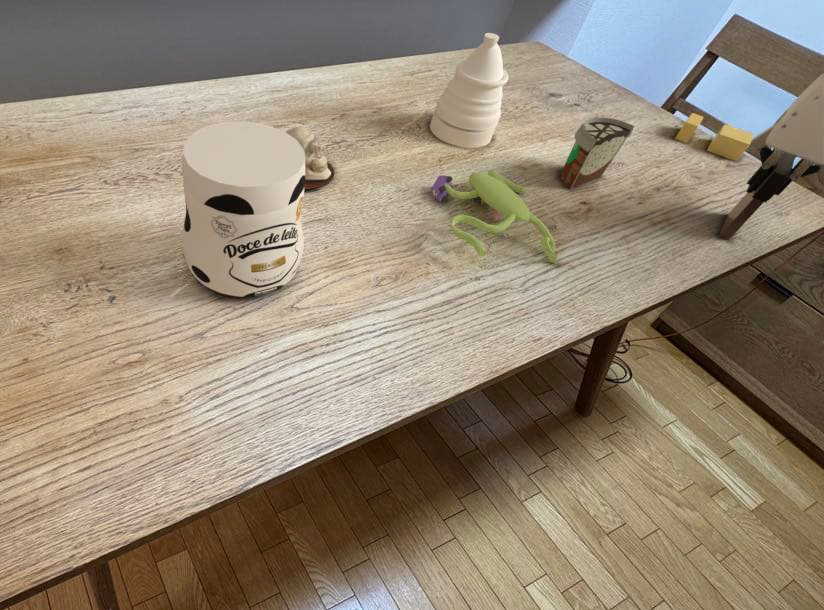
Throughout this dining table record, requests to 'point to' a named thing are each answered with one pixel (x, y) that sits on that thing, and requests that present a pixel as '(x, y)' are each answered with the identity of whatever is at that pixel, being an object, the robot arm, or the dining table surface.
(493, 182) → the figurine
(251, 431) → the dining table surface
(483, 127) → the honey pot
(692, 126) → the block
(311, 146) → the cream carved statuette
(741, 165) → the dining table surface
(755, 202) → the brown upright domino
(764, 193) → the knife
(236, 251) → the milk container
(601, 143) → the food container
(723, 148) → the butter block
